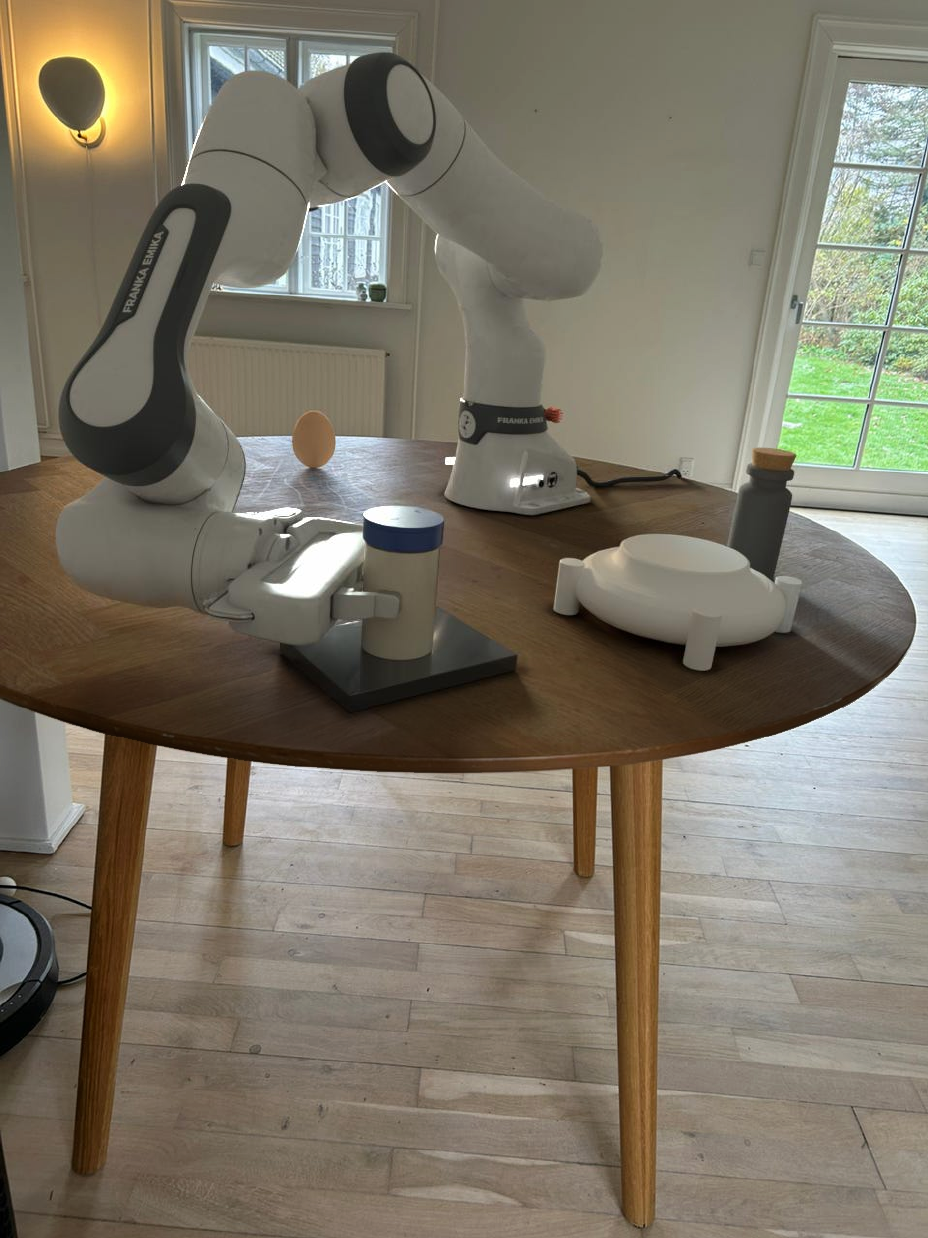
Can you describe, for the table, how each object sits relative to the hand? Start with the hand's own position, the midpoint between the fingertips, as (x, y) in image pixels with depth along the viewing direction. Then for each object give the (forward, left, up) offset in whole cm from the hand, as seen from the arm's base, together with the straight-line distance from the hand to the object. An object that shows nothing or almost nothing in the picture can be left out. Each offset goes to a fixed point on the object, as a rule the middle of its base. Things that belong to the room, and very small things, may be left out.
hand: (411, 590), depth 69 cm
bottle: (-48, -2, -7) cm, 49 cm away
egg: (-25, -68, -7) cm, 72 cm away
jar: (+1, -1, -5) cm, 5 cm away
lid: (+1, -1, +6) cm, 6 cm away
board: (+1, -1, -7) cm, 7 cm away
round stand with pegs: (-29, +3, -7) cm, 30 cm away
